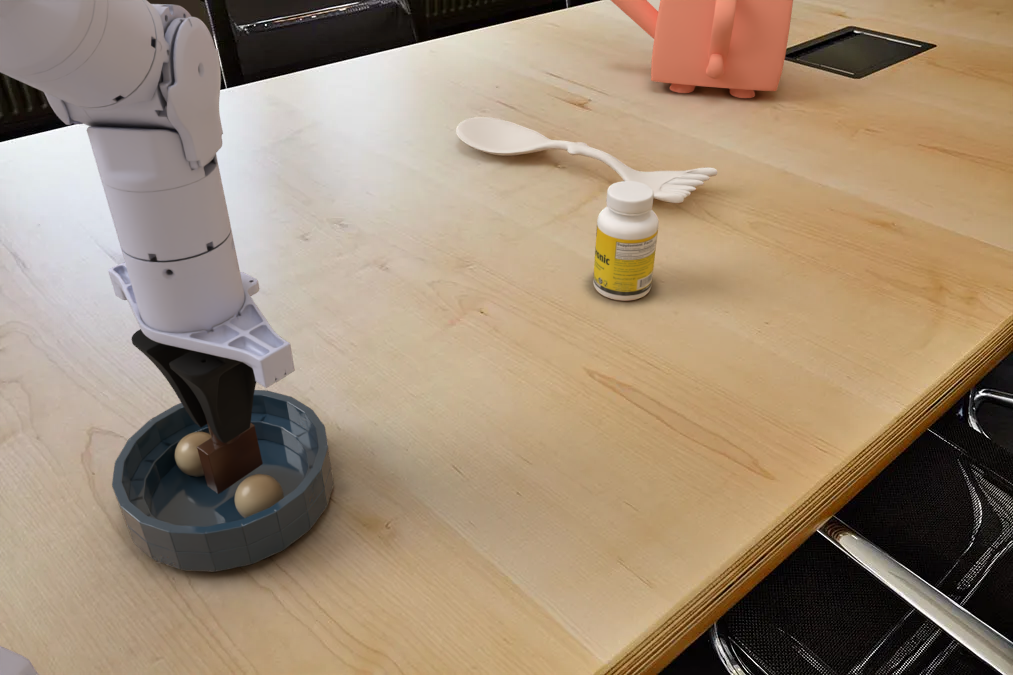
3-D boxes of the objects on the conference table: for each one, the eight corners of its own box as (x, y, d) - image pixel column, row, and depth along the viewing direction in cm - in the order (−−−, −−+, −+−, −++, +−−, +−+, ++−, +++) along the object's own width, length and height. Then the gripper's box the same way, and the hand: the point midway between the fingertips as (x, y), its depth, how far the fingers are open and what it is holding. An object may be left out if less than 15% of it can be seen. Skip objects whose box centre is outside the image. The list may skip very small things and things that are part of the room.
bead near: (259, 539, 54) (251, 506, 52) (229, 516, 55) (220, 483, 53) (296, 511, 55) (289, 478, 54) (266, 490, 57) (259, 457, 55)
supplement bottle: (589, 271, 81) (596, 176, 76) (646, 271, 81) (657, 176, 76) (595, 302, 77) (603, 204, 71) (655, 302, 77) (667, 204, 71)
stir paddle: (221, 496, 55) (192, 388, 50) (204, 484, 56) (174, 375, 51) (266, 466, 57) (243, 359, 52) (249, 454, 58) (224, 347, 53)
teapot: (593, 98, 119) (602, -39, 109) (612, 50, 137) (622, -72, 127) (778, 114, 115) (806, -27, 104) (773, 62, 133) (796, -63, 122)
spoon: (678, 225, 89) (682, 194, 87) (441, 149, 104) (440, 122, 102) (715, 194, 95) (720, 165, 93) (486, 127, 110) (486, 101, 108)
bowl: (210, 615, 50) (196, 570, 47) (88, 509, 56) (70, 465, 54) (374, 487, 58) (369, 443, 56) (251, 408, 65) (242, 365, 62)
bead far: (197, 492, 57) (188, 459, 55) (170, 472, 58) (160, 439, 57) (234, 467, 59) (226, 435, 57) (208, 449, 60) (199, 416, 58)
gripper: (323, 249, 45) (349, 440, 53) (163, 174, 52) (206, 352, 60) (211, 306, 41) (257, 506, 48) (52, 216, 48) (115, 402, 56)
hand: (223, 425), depth 54 cm, fingers closed on stir paddle, 2 cm apart
